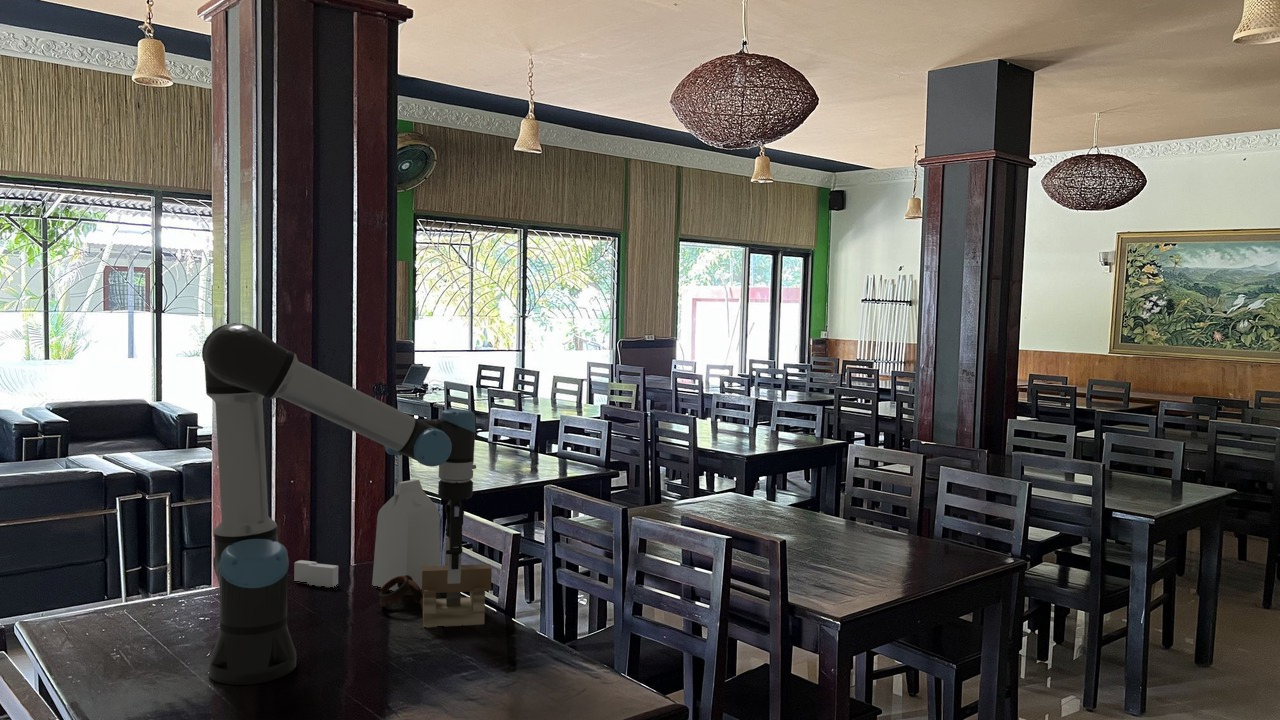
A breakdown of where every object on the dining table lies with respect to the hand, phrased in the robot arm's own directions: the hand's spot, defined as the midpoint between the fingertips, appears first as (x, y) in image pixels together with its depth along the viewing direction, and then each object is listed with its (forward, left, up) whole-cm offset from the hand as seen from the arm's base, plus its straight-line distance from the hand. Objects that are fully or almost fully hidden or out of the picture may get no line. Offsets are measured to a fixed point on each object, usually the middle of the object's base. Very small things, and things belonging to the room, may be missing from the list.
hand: (452, 574), depth 202 cm
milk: (+27, +10, -10) cm, 31 cm away
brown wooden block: (0, -1, -3) cm, 4 cm away
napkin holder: (+32, +31, -11) cm, 46 cm away
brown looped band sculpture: (+10, +10, -10) cm, 18 cm away
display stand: (0, 0, -10) cm, 10 cm away
